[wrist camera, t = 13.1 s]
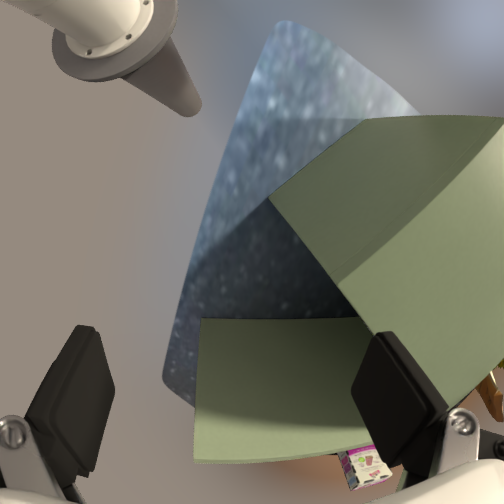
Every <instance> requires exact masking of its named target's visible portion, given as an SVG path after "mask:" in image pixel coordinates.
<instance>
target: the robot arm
mask: <svg viewBox="0 0 504 504" xmlns="http://www.w3.org/2000/svg"><path fill="white" fill-rule="evenodd" d="M1 1H4V2H6V3H8V4H11V5H13V6H15V7H17V8H19V9H21V10H23V11H24V12H26V13H28V14H30V15H32V16H34V17H36V18H38V19H40V20H41V21H43V22H45V23H47V24H49V25H50V26H52V27H54V28H56V29H57V30H59V31H61V32H63V33H64V34H65V35H66V42H67V45H68V47H69V48H70V50H71V51H72V52H73V53H75V54H76V55H78V56H80V57H82V58H86V59H101V58H106V57H109V56H112V55H114V54H116V53H119V52H121V51H122V50H124V49H125V48H127V47H128V46H130V45H131V44H132V43H133V42H135V41H136V40H137V39H138V38H139V37H140V36H141V34H142V33H143V32H144V31H145V29H146V28H147V26H148V24H149V22H150V20H151V18H152V15H153V9H154V4H153V0H1ZM129 38H130V39H129ZM114 395H115V386H114V383H113V379H112V376H111V373H110V370H109V366H108V363H107V359H106V356H105V352H104V348H103V345H102V341H101V337H100V334H99V332H96V331H95V329H94V327H91V326H84V325H77V326H76V327H75V329H74V330H73V332H72V333H71V335H70V337H69V339H68V340H67V342H66V343H65V345H64V347H63V348H62V350H61V352H60V353H59V355H58V357H57V359H56V360H55V361H54V362H53V363H52V365H51V367H50V368H49V370H48V372H47V374H46V376H45V377H44V379H43V381H42V383H41V385H40V387H39V389H38V391H37V392H36V395H35V397H34V399H33V401H32V403H31V404H30V406H29V408H28V411H27V413H26V415H25V417H24V419H23V418H22V417H20V416H16V415H8V416H5V417H3V418H1V419H0V504H86V502H85V500H84V498H83V497H82V495H81V493H80V492H79V490H78V488H77V486H76V485H75V480H76V476H77V475H80V476H83V477H86V478H88V476H89V472H93V471H94V469H95V465H96V461H97V457H98V452H99V449H100V445H101V441H102V437H103V434H104V430H105V426H106V423H107V419H108V416H109V412H110V409H111V405H112V402H113V399H114ZM351 395H352V398H353V400H354V402H355V404H356V406H357V408H358V411H359V413H360V415H361V417H362V419H363V421H364V423H365V426H366V428H367V430H368V432H369V434H370V437H371V439H372V441H373V443H374V445H375V448H376V450H377V452H378V454H379V457H380V459H381V461H382V462H383V463H386V465H387V467H388V469H390V468H392V467H395V466H398V465H400V464H401V463H402V465H403V467H404V469H403V472H402V476H401V478H400V481H399V484H398V487H397V489H396V492H395V493H393V494H390V495H388V496H385V497H382V498H379V499H376V500H373V501H370V502H367V503H364V504H504V436H502V435H499V434H496V433H492V432H489V431H486V430H483V429H480V426H479V421H478V419H477V417H476V416H475V415H474V414H473V413H472V412H470V411H469V410H467V409H464V408H455V409H453V410H451V412H450V413H449V414H448V412H447V409H448V408H449V405H448V404H447V403H446V401H445V400H444V398H443V397H442V396H441V394H440V393H439V391H438V390H437V389H436V387H435V386H434V385H433V383H432V382H431V380H430V379H429V378H428V376H427V375H426V374H425V372H424V371H423V370H422V368H421V367H420V366H419V364H418V363H417V362H416V360H415V359H414V358H413V356H412V355H411V354H410V353H409V351H408V350H407V349H406V347H405V346H404V345H403V344H402V342H401V341H400V340H399V338H398V337H397V336H396V335H395V333H394V332H393V331H384V332H377V333H376V334H375V336H374V337H372V338H371V340H370V343H369V346H368V348H367V351H366V353H365V356H364V358H363V361H362V363H361V365H360V368H359V370H358V373H357V375H356V377H355V379H354V382H353V384H352V386H351Z"/></svg>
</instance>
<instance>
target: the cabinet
mask: <svg viewBox="0 0 504 504" xmlns="http://www.w3.org/2000/svg"><path fill="white" fill-rule="evenodd" d="M268 199H269V200H270V201H271V202H272V204H273V205H274V206H275V207H276V209H277V210H278V211H279V212H280V214H281V215H282V216H283V217H284V219H285V220H286V221H287V222H288V224H289V225H290V226H291V227H292V229H293V230H294V231H295V232H296V234H297V235H298V236H299V237H300V239H301V240H302V241H303V243H304V244H305V245H306V246H307V248H308V249H309V250H310V252H311V253H312V254H313V255H314V257H315V258H316V259H317V261H318V262H319V263H320V265H321V266H322V267H323V268H324V270H325V271H326V272H327V274H328V275H329V276H330V278H331V279H332V280H333V282H334V283H335V284H336V286H337V287H338V288H339V290H340V291H341V292H342V293H343V295H344V296H345V297H346V299H347V300H348V301H349V303H350V304H351V305H352V307H353V308H354V309H355V311H356V312H357V313H358V315H359V316H360V317H361V319H362V320H363V321H364V323H365V324H366V325H367V327H368V328H369V329H370V331H371V332H372V333H373V335H374V336H375V334H376V333H377V332H384V331H393V332H394V333H395V335H396V336H397V337H398V338H399V340H400V341H401V342H402V344H403V345H404V346H405V347H406V349H407V350H408V351H409V353H410V354H411V355H412V356H413V358H414V359H415V360H416V362H417V363H418V364H419V366H420V367H421V368H422V370H423V371H424V372H425V374H426V375H427V376H428V378H429V379H430V380H431V382H432V383H433V385H434V386H435V387H436V389H437V390H438V391H439V393H440V394H441V396H442V397H443V398H444V400H445V401H446V403H447V404H448V405H449V408H448V409H447V411H448V410H450V409H451V408H452V407H453V406H454V405H456V404H457V403H458V402H459V401H460V400H461V399H463V398H464V397H465V396H466V395H467V394H468V393H469V392H470V391H471V390H473V389H474V388H475V387H476V386H477V385H478V384H479V383H480V382H481V381H482V380H483V379H484V378H485V377H486V376H487V375H488V374H489V373H490V372H491V371H492V370H493V369H494V368H495V367H496V366H497V365H498V364H499V363H500V362H501V360H502V359H503V358H504V118H501V117H488V116H465V115H425V116H424V115H423V116H400V117H384V118H372V119H365V120H364V121H362V122H361V123H360V124H359V125H357V126H356V127H355V128H353V129H352V130H351V131H350V132H348V133H347V134H346V135H344V136H343V137H342V138H341V139H339V140H338V141H337V142H335V143H334V144H333V145H332V146H330V147H329V148H328V149H327V150H325V151H324V152H323V153H322V154H320V155H319V156H318V157H317V158H315V159H314V160H313V161H312V162H310V163H309V164H308V165H307V166H305V167H304V168H303V169H302V170H300V171H299V172H298V173H297V174H296V175H294V176H293V177H292V178H291V179H289V180H288V181H287V182H286V183H284V184H283V185H282V186H281V187H280V188H278V189H277V190H276V191H275V192H274V193H272V194H271V195H270V196H269V197H268Z"/></svg>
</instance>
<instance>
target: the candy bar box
mask: <svg viewBox="0 0 504 504" xmlns="http://www.w3.org/2000/svg"><path fill="white" fill-rule="evenodd" d="M337 454H338V457H339V460H340V462H341V465H342V468H343V471H344V474H345V477H346V479H347V482H348V485H349V488H350V491H352V490H356V489H361V488H364V487H368V486H371V485H375V484H378V483H381V482H384V481H386V480H387V479H388V478H389V477H390V476H392V475H393V474H392V472H391V469H388V467H387V465H386V463H383V462H382V461H381V459H380V457H379V454H378V452H377V450H376V448H375V445H374V444H372V445H368V446H364V447H360V448H356V449H352V450H347V451H342V452H338V453H337Z"/></svg>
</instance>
